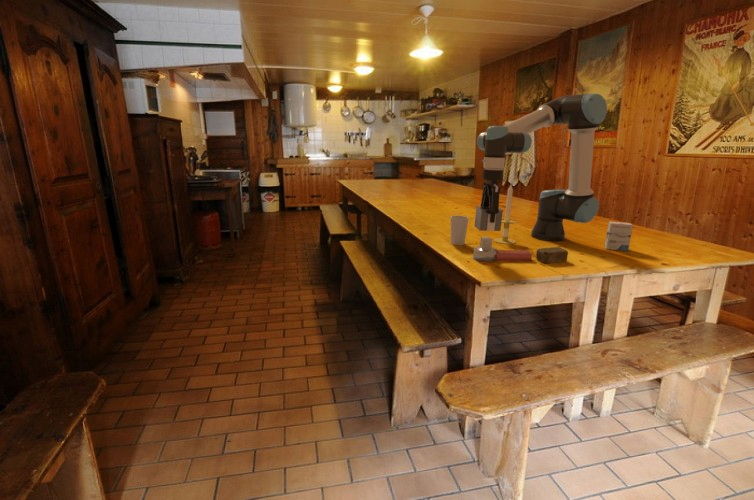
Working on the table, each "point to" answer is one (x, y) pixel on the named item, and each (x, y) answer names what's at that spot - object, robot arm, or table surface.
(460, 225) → the cup
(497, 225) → the socket
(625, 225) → the ink box
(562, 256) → the stone block
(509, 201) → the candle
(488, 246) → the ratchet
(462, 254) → the table surface
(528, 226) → the table surface
